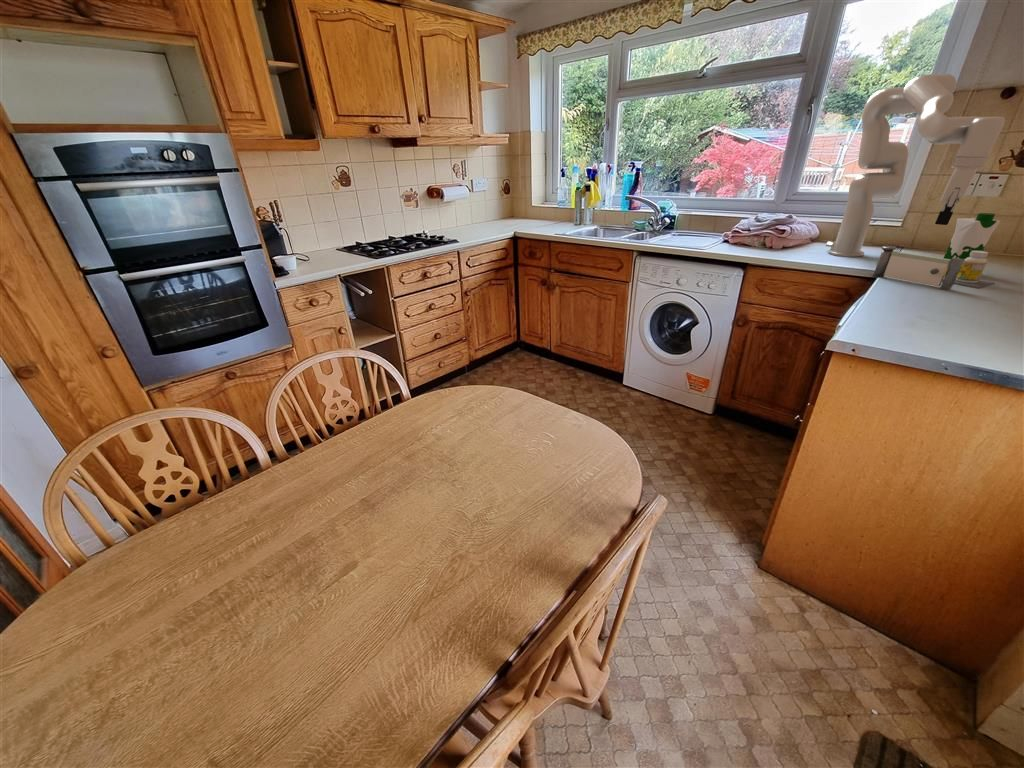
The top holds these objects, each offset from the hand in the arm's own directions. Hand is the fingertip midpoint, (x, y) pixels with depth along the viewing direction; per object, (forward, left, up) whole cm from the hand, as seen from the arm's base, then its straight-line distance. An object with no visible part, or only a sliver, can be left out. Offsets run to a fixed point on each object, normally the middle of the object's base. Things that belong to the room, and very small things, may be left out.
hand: (941, 224), depth 144 cm
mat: (+12, +2, -17) cm, 21 cm away
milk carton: (+3, +15, -18) cm, 24 cm away
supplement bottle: (+12, +2, -17) cm, 21 cm away
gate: (+3, -12, -17) cm, 21 cm away
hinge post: (-7, -12, -17) cm, 22 cm away
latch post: (+13, -12, -17) cm, 24 cm away
